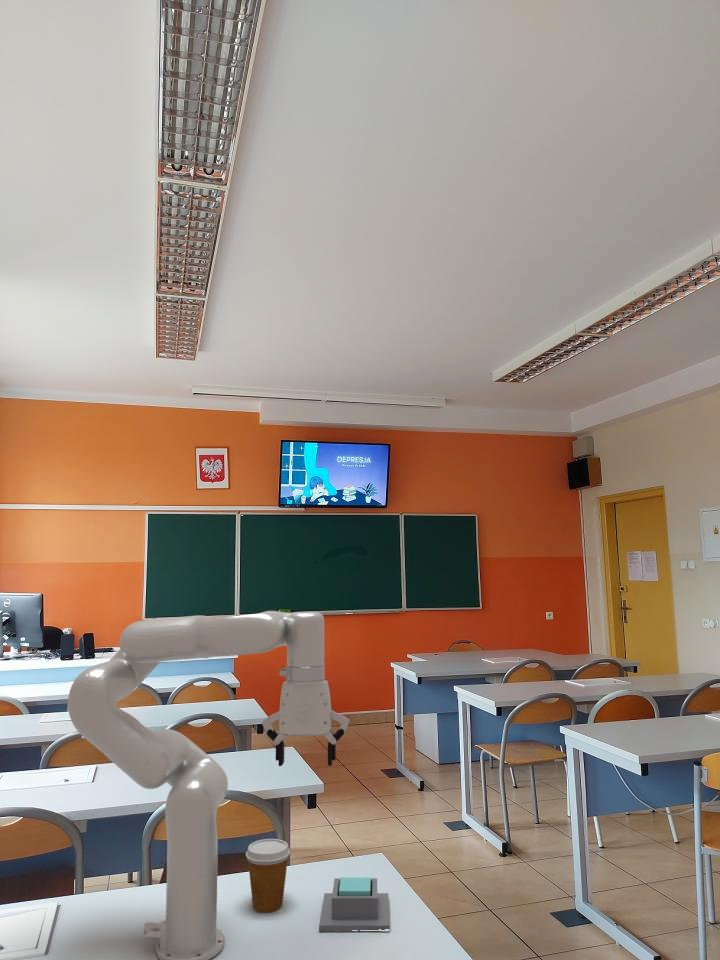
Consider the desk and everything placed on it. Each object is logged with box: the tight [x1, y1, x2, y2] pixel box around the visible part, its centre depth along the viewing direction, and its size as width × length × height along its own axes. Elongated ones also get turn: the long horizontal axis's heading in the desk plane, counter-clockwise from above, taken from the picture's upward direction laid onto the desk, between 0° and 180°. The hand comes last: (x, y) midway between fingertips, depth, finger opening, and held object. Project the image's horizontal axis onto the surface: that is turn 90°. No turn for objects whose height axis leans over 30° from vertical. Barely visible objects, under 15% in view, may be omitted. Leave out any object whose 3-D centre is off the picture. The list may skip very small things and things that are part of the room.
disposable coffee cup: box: [245, 838, 291, 914], centre depth 147 cm, size 10×10×12 cm
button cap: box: [339, 877, 371, 896], centre depth 142 cm, size 6×6×4 cm
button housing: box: [318, 877, 391, 933], centre depth 142 cm, size 14×14×5 cm
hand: (305, 764), depth 134 cm, fingers open, 9 cm apart
